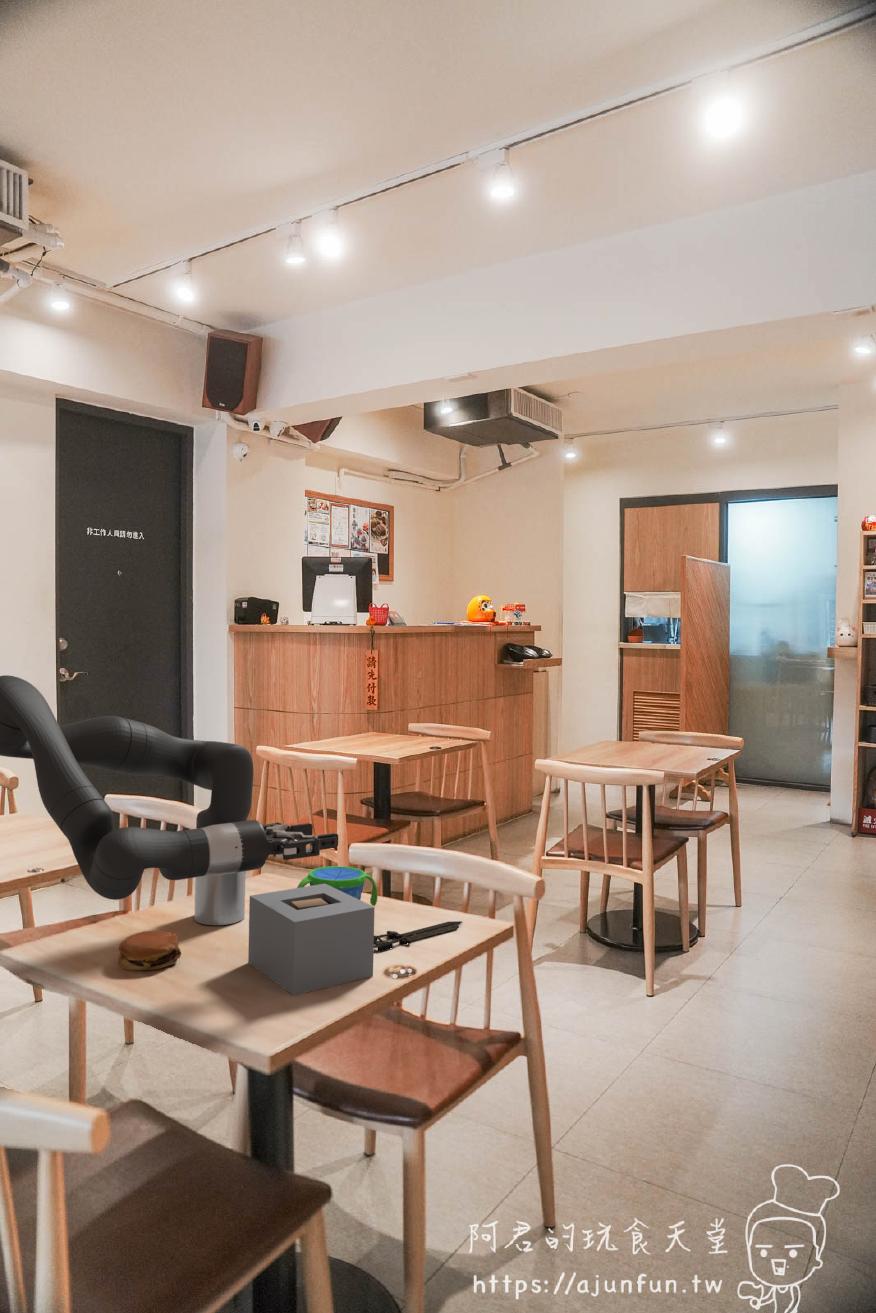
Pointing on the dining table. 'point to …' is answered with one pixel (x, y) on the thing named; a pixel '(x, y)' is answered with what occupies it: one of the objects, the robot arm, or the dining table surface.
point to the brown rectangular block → (308, 903)
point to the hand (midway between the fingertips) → (324, 834)
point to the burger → (149, 950)
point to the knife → (413, 935)
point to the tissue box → (311, 938)
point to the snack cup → (341, 880)
